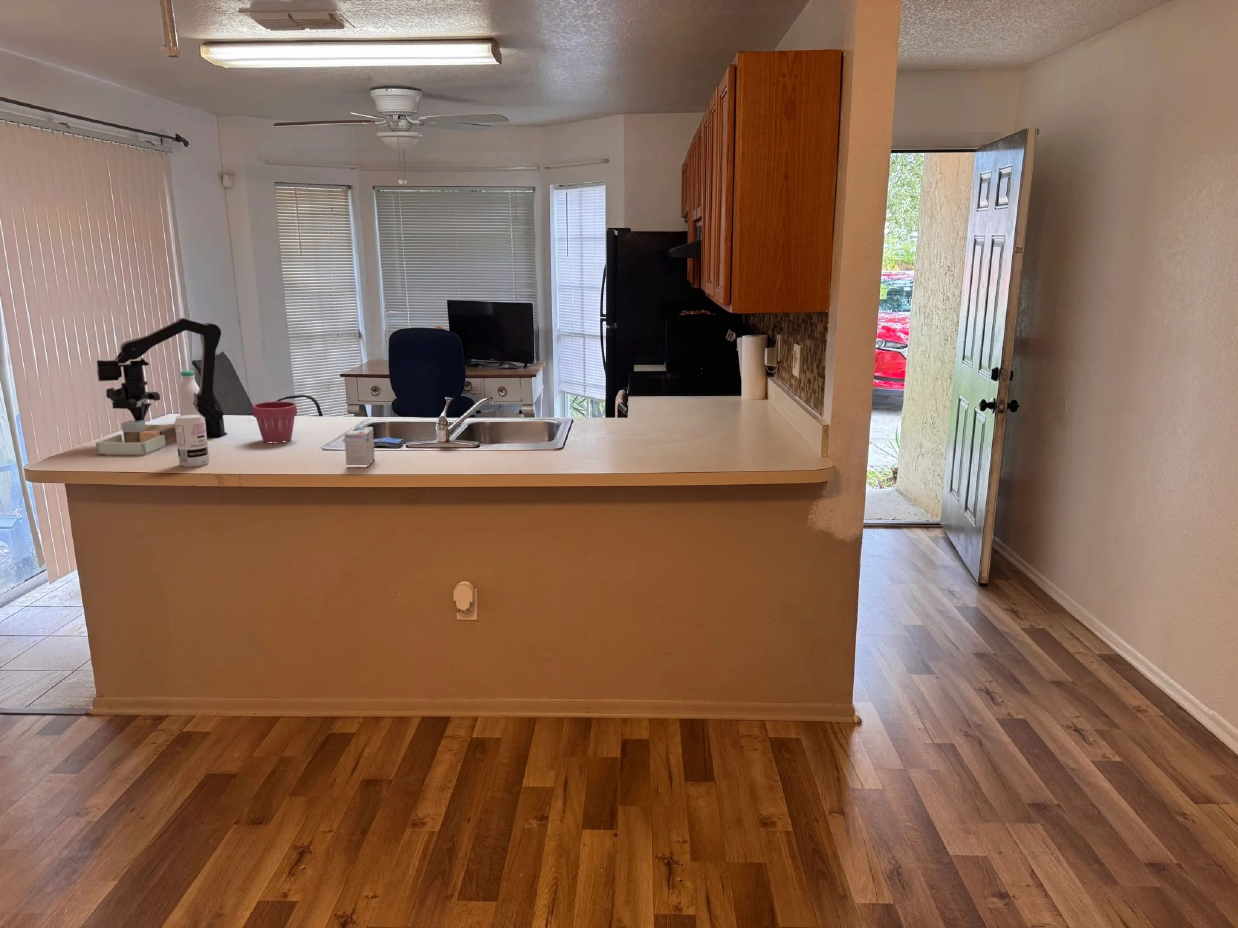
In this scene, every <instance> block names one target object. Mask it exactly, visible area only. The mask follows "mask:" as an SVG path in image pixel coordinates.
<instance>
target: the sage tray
mask: <svg viewBox="0 0 1238 928" xmlns="http://www.w3.org/2000/svg"><path fill="white" fill-rule="evenodd" d="M122 436H123V435H122V434H117V435H113V436H111V437H107V438H105V439H102V440H99V441H98V442H97V441H96V442H95V445H96V455H97V454H106V455H105V456H145V457H146V456H147V455H149V454H152V453H155V452H156V451H159V450H162V449H164V448H166V447H167V446H166V444H165V436H164V435H160V436H158V437H155V438H153V439H150V440H148V441H145V442H143V443H125V442H123V437H122Z"/></svg>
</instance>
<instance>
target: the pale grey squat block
mask: <svg viewBox="0 0 1238 928" xmlns="http://www.w3.org/2000/svg"><path fill="white" fill-rule="evenodd" d="M145 421H146V420H144V421H135V419H134V420H133V419H131V420H127V421H124V422H121V432H122V433H123V432H140V431H143V430H145V429H146V427H145V425H146V422H145Z"/></svg>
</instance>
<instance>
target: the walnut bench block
mask: <svg viewBox="0 0 1238 928" xmlns="http://www.w3.org/2000/svg"><path fill="white" fill-rule="evenodd" d="M145 427H146V429H145V430H143V431H159V433H160V435H164V436H165V444H166V447H167V446H169V445H171V444H174V443H177V439H176V431H175V424H145ZM140 432H142V431H140ZM140 432H122V434H123V443H140V435H139V433H140Z"/></svg>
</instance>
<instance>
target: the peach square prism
mask: <svg viewBox="0 0 1238 928" xmlns="http://www.w3.org/2000/svg"><path fill="white" fill-rule="evenodd" d="M139 435H140V443H143V442H145V441H148V440H150V439H153V438H155V437H158V436H160V433H159V431H142V432H140V433H139Z"/></svg>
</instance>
